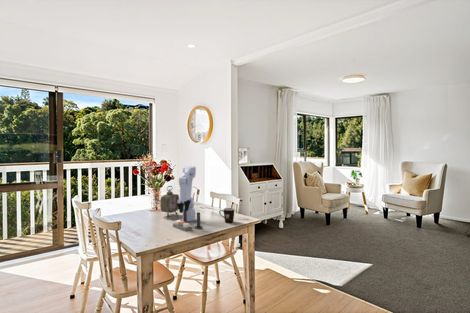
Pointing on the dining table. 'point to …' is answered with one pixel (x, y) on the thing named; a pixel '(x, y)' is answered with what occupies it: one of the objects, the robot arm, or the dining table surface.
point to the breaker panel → (182, 226)
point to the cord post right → (198, 221)
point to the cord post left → (185, 216)
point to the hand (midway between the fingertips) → (184, 211)
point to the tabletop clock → (169, 202)
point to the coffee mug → (228, 214)
